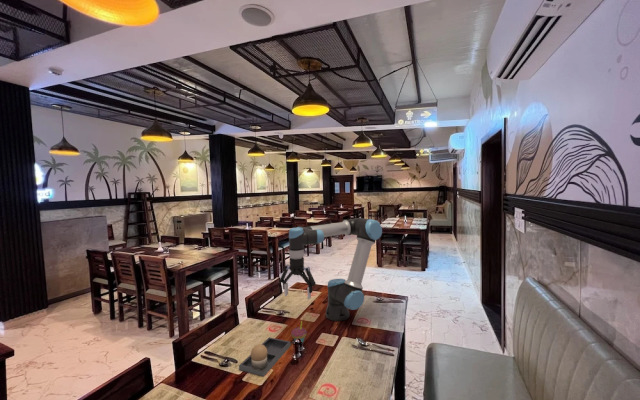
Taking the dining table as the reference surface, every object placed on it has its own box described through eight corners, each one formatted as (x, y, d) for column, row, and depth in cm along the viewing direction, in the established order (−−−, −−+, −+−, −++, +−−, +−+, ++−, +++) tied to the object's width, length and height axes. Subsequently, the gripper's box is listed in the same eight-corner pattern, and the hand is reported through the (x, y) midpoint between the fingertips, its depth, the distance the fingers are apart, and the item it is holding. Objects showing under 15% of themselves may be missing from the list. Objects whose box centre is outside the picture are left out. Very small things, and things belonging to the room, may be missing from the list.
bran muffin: (271, 361, 130) (270, 342, 130) (261, 371, 123) (261, 351, 123) (257, 357, 133) (256, 339, 133) (247, 367, 126) (247, 348, 126)
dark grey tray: (290, 347, 143) (290, 341, 143) (263, 378, 120) (263, 372, 120) (269, 342, 148) (269, 337, 148) (239, 372, 125) (238, 365, 125)
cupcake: (309, 338, 151) (308, 316, 151) (303, 347, 143) (302, 324, 143) (295, 336, 154) (294, 314, 153) (288, 344, 146) (287, 322, 145)
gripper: (321, 257, 145) (322, 297, 146) (279, 254, 155) (280, 291, 156) (315, 261, 138) (316, 302, 139) (272, 257, 148) (273, 296, 149)
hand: (297, 296), depth 147 cm, fingers open, 13 cm apart
